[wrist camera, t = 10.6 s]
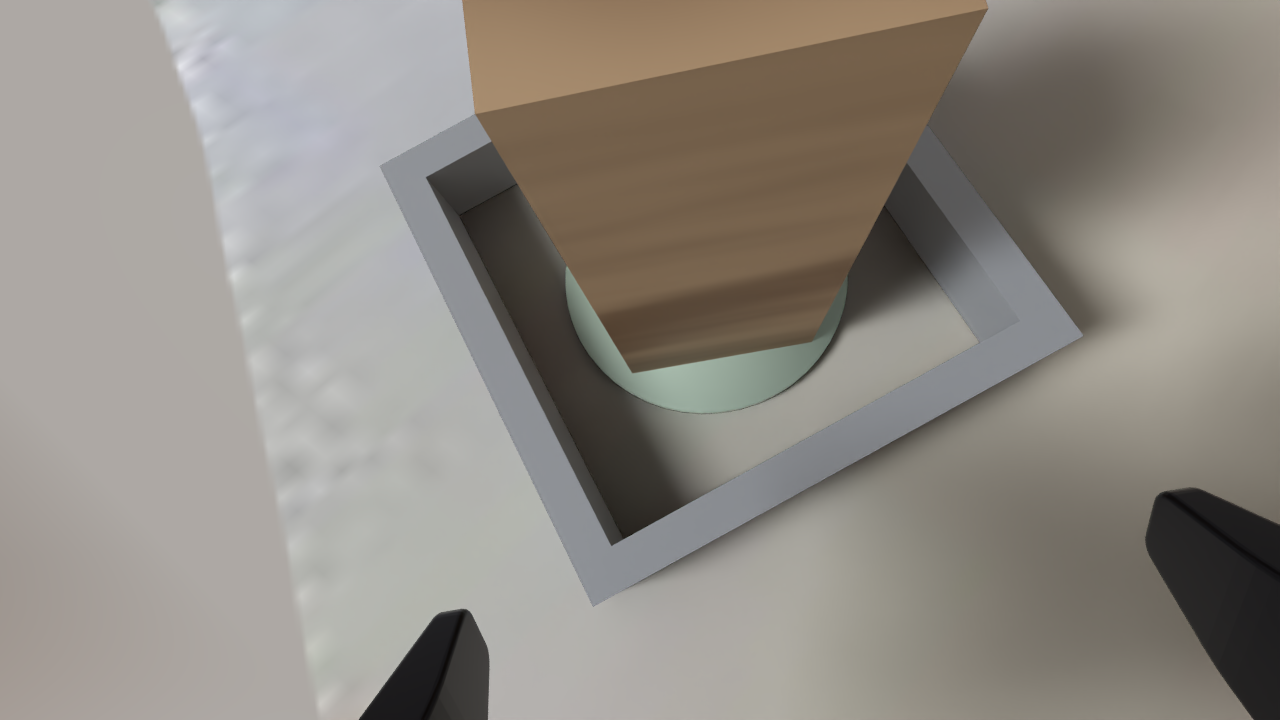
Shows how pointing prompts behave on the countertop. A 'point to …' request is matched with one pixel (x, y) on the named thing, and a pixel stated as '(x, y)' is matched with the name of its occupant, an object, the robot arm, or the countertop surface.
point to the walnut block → (710, 150)
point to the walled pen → (605, 562)
